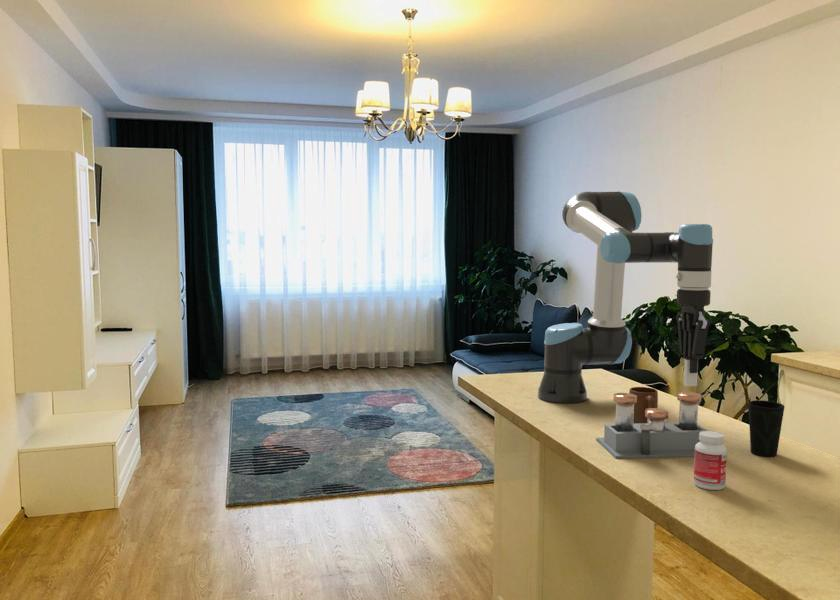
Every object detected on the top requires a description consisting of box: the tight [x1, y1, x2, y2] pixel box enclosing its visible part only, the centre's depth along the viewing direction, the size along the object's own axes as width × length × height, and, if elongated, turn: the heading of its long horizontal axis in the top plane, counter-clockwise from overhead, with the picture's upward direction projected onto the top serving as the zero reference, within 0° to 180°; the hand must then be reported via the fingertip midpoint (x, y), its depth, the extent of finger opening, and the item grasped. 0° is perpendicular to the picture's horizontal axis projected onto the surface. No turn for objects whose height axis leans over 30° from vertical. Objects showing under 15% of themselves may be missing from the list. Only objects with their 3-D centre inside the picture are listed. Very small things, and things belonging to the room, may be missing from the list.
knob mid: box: [645, 408, 670, 431], centre depth 168 cm, size 5×5×8 cm
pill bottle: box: [693, 430, 728, 491], centre depth 143 cm, size 6×6×11 cm
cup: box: [747, 399, 785, 458], centre depth 164 cm, size 8×8×12 cm
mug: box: [628, 386, 659, 424], centre depth 187 cm, size 12×8×9 cm, turn 179°
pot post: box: [640, 424, 652, 455], centre depth 162 cm, size 3×3×7 cm
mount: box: [595, 422, 709, 459], centre depth 168 cm, size 14×25×5 cm, turn 94°
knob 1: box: [613, 392, 637, 432], centre depth 167 cm, size 5×5×8 cm
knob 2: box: [676, 391, 702, 430], centre depth 168 cm, size 5×5×8 cm
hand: (690, 385), depth 167 cm, fingers closed
